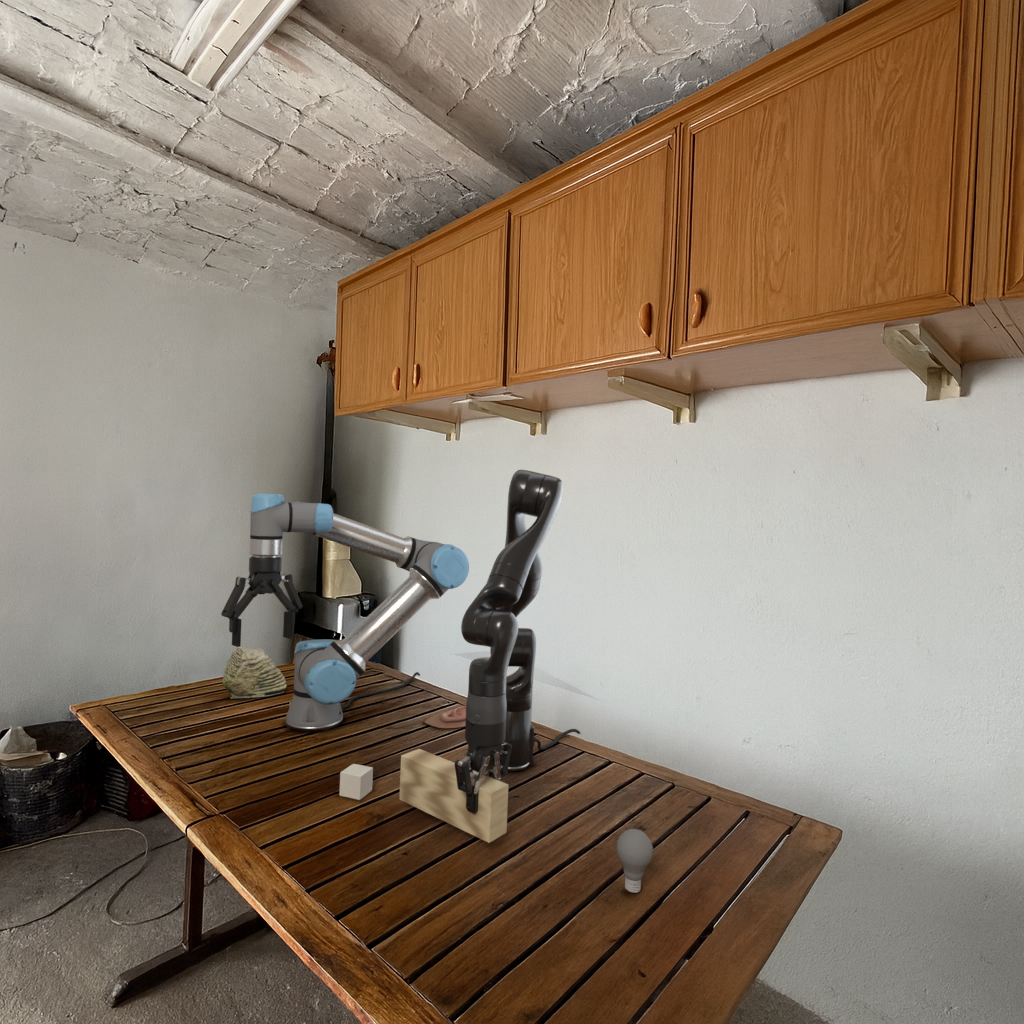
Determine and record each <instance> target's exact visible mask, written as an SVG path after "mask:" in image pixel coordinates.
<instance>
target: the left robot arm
mask: <svg viewBox="0 0 1024 1024" xmlns="http://www.w3.org/2000/svg"><path fill="white" fill-rule="evenodd" d="M250 505H251V507H250V512H249V513H250V522H249V523H250V525H249V528H250V529H249V530H250V531H249V555H251V556H250V557H249V558H248V572H249V575H248V577H242V576H236V577H235V583H234V587H233V589H232V591H231V593H230V594H229V597H228V599H227V601H226V603H225V605H224V607H223V609H222V611H221V613H220V615H221V617H225V618H227V619H228V621H229V623H228V631H229V633H231V646H233V647H236V648H238V647H242V646H241V645H242V643H241V641H242V618H240V617H241V615H242V614H243V613H244V611H245V610H246V608H248V606H249V605H250V604H251V602H252V601H253V600H254V598H256V597H257V596H258V595H266V594H271V595H272V594H273V595H274V596H275V597H276V598H277V600H278V601H279V602H280V603H281V604H282V606H283V607H284V608H285V609H286V611H283V632H282V637H283V638H286V639H293V625H295V622H296V613H298V612H299V610H302V609H303V607H304V606H303V604H302V601H301V598H300V596H299V594H298V591H297V590H296V587H295V584H294V579H293V575H292V574H290V573H286V572H285V573H283V574H282V573H281V572H282V568H283V567H282V566H283V564H282V563H283V558H282V557H281V555H283V537H284V536H283V534H284V533H303V534H305V533H307V534H309V535H313V536H315V537H319V538H322V539H325V540H327V541H331V542H333V543H336V544H340V545H341V546H344V547H348V548H351V549H354V550H357V551H360V552H362V553H366V554H368V555H372V556H375V557H377V558H380V559H382V560H383V559H384V560H386V561H390V562H392V563H394V564H395V566H396V567H397V568H399V569H402V570H405V571H407V572H409V573H408V574H409V575H408V577H407V578H406V579H405V580H404V581H403V582H402V583H401V584H400V585H399V586H398V587H397V588H396V589H395V590H394V591H392V593H391V594H390V595H388V596H387V597H386V598H385V599H384V600H383V601H382V602H381V603H380V604H379V605H378V606H377V607H376V608H374V609H373V610H372V611H371V613H370V614H368V615H367V616H366V617H365V618H364V619H363V620H362V621H361V622H360V623H359V624H358V625H357V626H356V627H354V629H353V630H352V631H351V632H350V633H348V634H347V635H346V636H345V638H343V639H328V638H327V639H307V640H302V641H299V642H297V643H296V644H295V648H294V649H295V650H294V672H293V673H294V674H293V675H294V676H293V678H294V679H293V695H292V696H293V697H292V699H291V701H289V708H288V711H287V713H286V715H285V726H286V728H287V729H289V730H291V731H294V732H295V731H296V732H301V733H316V732H325V731H329V730H332V729H335V728H337V727H339V726H340V725H342V723H343V722H344V714H343V710H344V709H347V708H349V707H350V706H351V705H350V704H351V703H352V702H353V701H354V700H356V699H360V698H364V697H370V696H374V695H378V694H383V693H388V692H391V691H395V690H398V689H401V688H404V687H406V686H407V685H409V684H410V683H411V682H412V681H413V680H414V679H415V677H416V676H418V677H420V676H421V673H419V671H416V672H414V674H413V675H412V676H411V677H410V678H409V679H408V680H407V681H405V682H404V683H402V684H400V685H396V686H393V687H390V688H385V689H381V690H376V691H371V692H366V693H361V694H358V695H354V696H353V697H350V696H351V695H352V693H353V692H354V690H355V688H356V685H357V681H358V679H360V678H361V676H362V675H363V674H364V673H366V666H367V665H366V664H367V662H368V661H369V660H370V659H371V658H372V657H373V656H374V655H376V654H377V652H379V650H381V649H382V648H383V647H384V646H385V644H387V643H388V641H390V640H391V639H392V638H393V637H394V636H395V635H396V633H398V632H399V631H400V630H401V629H402V628H403V627H404V626H405V625H406V624H407V623H408V622H409V621H410V620H411V619H412V618H413V617H414V616H415V615H416V614H418V612H419V611H421V609H422V608H423V607H424V606H425V605H426V604H427V603H428V602H429V601H431V600H439V599H440V598H442V596H444V594H446V592H447V591H448V590H453V589H457V588H458V587H461V586H462V585H463V584H464V583H465V582H466V580H467V578H468V577H469V572H470V562H469V558H468V556H467V554H466V553H465V552H464V551H463V550H462V549H461V548H459V547H457V546H455V545H453V544H449V543H446V544H445V543H442V542H437V541H430V540H423V539H418V538H414V537H412V536H405V537H403V536H402V537H401V536H399V535H396V534H394V533H390V532H388V531H385V530H382V529H380V528H377V527H373V526H371V525H368V524H366V523H363V522H359V521H357V520H354V519H351V518H348V517H345V516H342V515H340V514H338V513H334V509H333V507H332V505H331V504H329V503H321V502H305V501H299V500H297V501H294V502H289V501H285V496H284V495H283V494H280V493H260V492H259V493H258V492H257V493H255V494H254V495H252V497H251V504H250ZM281 582H282V583H283V586H284V589H285V591H286V593H287V594H285V592H284V590H283V589H282V588H281V585H280V584H281ZM247 586H249V587H248V588H246V587H247ZM245 588H246V590H245ZM244 591H245V593H244ZM243 593H244V595H243ZM242 595H243V596H242ZM287 595H288V596H287ZM348 698H349V699H348ZM347 699H348V701H347V703H346V704H345V705H341V703H342V702H344V701H346V700H347Z"/></svg>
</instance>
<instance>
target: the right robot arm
mask: <svg viewBox="0 0 1024 1024" xmlns="http://www.w3.org/2000/svg"><path fill="white" fill-rule="evenodd" d="M510 479H511V480H510V483H509V486H508V493H507V494H508V495H507V506H506V507H507V509H506V531H505V541H504V548H502V550H500V552H499V553H498V554H497V556H496V558H495V560H494V562H493V565H492V568H491V569H490V573H489V574H488V575H489V576H488V578H487V581H486V582H485V585H484V586H483V587H482V589H481V590H480V591H479V593H478V594H477V595H476V597H475V598H474V599H473V600H472V602H471V603H470V604H469V606H468V607H467V609H466V610H465V612H464V614H463V616H462V619H461V623H460V624H461V625H460V630H461V635H462V638H463V640H464V641H465V642H466V643H468V644H470V645H475V646H481V647H486V648H487V647H489V648H490V650H489V651H490V653H489V654H490V656H482V657H477V658H475V659H473V660H472V661H470V664H469V668H468V685H467V686H468V687H467V688H468V689H467V690H468V691H467V697H466V703H465V706H466V724H465V726H464V727H465V728H464V740H465V742H466V744H467V750H466V754H465V756H464V758H462V759H455V761H454V763H455V771H456V778H457V786H458V790H461V791H463V792H466V809H467V810H468V811H469V812H471V813H473V814H475V813H477V812H478V798H479V793H478V790H479V787H480V783H481V781H483V780H484V776H485V775H486V776H489V777H491V778H494V779H496V780H499V781H501V782H502V778H503V777H506V776H507V775H508V772H519V771H524V770H526V769H528V768H529V767H531V766H533V764H534V747H535V743H537V750H539V751H544V750H547V749H549V748H551V747H552V746H554V745H556V744H557V742H558V741H559V740H560V739H561V738H563V737H565V736H566V735H568V734H570V733H576V734H577V735H581V731H579V729H577V728H571V729H568V730H565V731H564V732H561V733H560V734H558V735H556V737H555V738H554V740H552V741H550V742H549V743H548V744H546V745H544V746H542V741H541V740H540V739H538V738H537V737H535V726H534V725H533V724H532V710H533V694H534V693H533V691H534V674H535V662H536V655H537V654H536V653H537V637H536V633H535V631H534V630H533V629H532V628H528V627H519V622H518V620H517V617H518V616H519V615H520V614H521V613H522V612H523V611H524V610H525V609H526V608H527V607H528V606H529V605H530V604H531V603H532V602H533V600H534V599H535V598H536V597H537V595H538V594H539V591H540V587H541V579H542V574H543V563H542V558H541V557H540V554H539V550H540V549H541V547H542V544H543V543H544V541H545V540H546V539H545V538H546V537H547V535H548V533H549V531H550V529H551V527H552V525H553V523H554V521H555V519H556V516H557V514H558V512H559V509H560V507H561V504H562V500H563V496H564V495H563V494H564V483H563V481H562V480H561V478H559V477H556V476H553V475H549V474H545V473H540V472H537V471H532V470H527V469H518V470H516V471H515V472H514V473H513V475H512V477H511V478H510ZM526 516H529V517H535V518H536V519H535V521H534V522H533V523H532V524H531V525H530V527H529V528H527V523H526ZM509 667H514V668H517V669H516V670H515V671H514V672H513V673H510V674H508V668H509ZM507 674H508V675H507ZM473 770H474V771H476V772H479V774H478V775H477V774H475V773H473ZM473 779H475V782H474V786H473V785H472V784H471V783H472V780H473ZM464 783H465V784H464Z"/></svg>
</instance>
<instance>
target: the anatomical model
mask: <svg viewBox="0 0 1024 1024" xmlns="http://www.w3.org/2000/svg"><path fill="white" fill-rule="evenodd" d="M424 723H425V724H426V725H429V726H431V727H434V728H437V729H457V728H463V727H465V724H466V705H462V706H459V707H454V708H452V709H450V710H447V711H444V712H441V713H437V714H434V715H432V716H429V717H428V718H426V719H425V720H424Z"/></svg>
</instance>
